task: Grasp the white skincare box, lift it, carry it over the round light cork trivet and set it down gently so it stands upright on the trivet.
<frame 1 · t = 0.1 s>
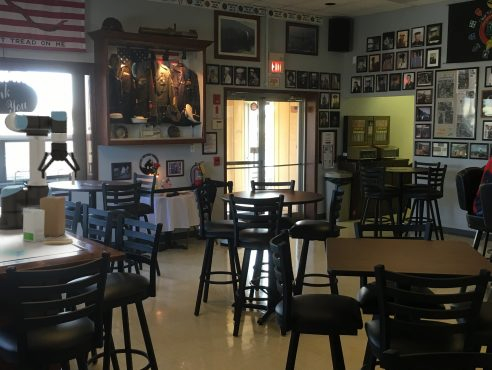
hand: (59, 185, 277), 28 cm above the table, fingers open, 13 cm apart
cork trivet: (57, 242, 275), on the table
skincare box: (34, 240, 278), on the table
wooden block: (53, 235, 294), on the table
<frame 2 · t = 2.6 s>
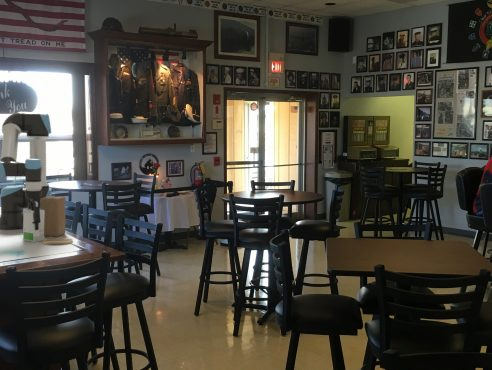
hand: (33, 234, 278), 3 cm above the table, fingers closed on skincare box, 10 cm apart
skincare box: (33, 240, 278), on the table, touching gripper
everything else where it was.
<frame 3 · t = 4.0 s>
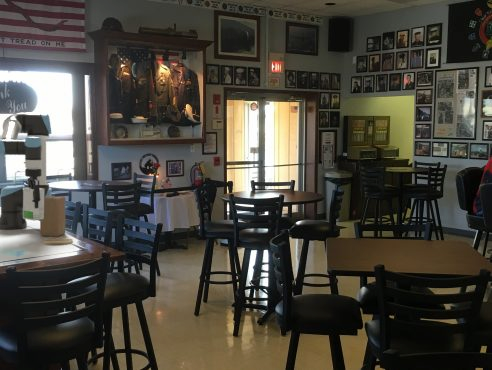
hand: (33, 213, 277), 14 cm above the table, fingers closed on skincare box, 10 cm apart
skincare box: (33, 219, 278), point 10 cm above the table, touching gripper
everything else where it was.
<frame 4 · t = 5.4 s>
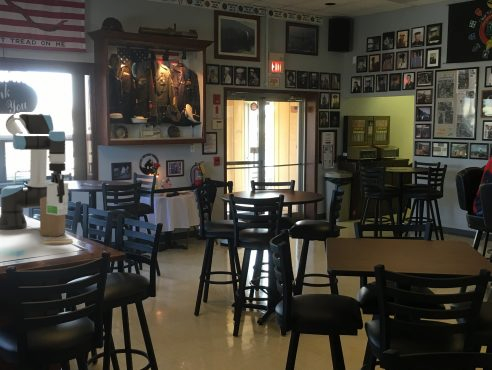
hand: (57, 208, 273), 17 cm above the table, fingers closed on skincare box, 10 cm apart
skincare box: (57, 214, 273), point 14 cm above the table, touching gripper
everything else where it was.
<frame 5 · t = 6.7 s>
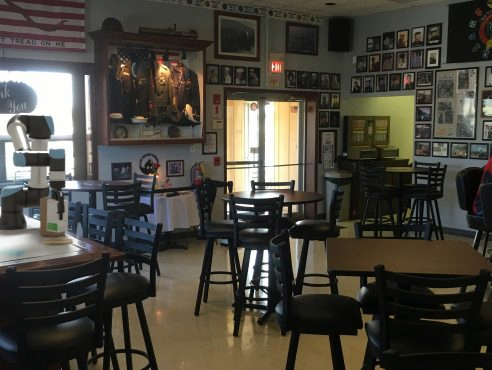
hand: (57, 225, 274), 9 cm above the table, fingers closed on skincare box, 10 cm apart
skincare box: (57, 231, 274), point 5 cm above the table, touching gripper
everything else where it was.
when the fingers open (5 cm above the table, at t = 7.9 s): skincare box drops 1 cm, resting on cork trivet.
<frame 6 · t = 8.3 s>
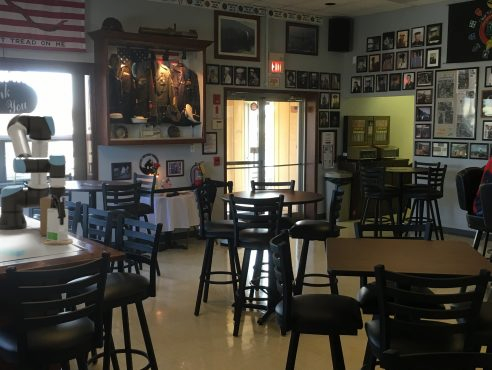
hand: (57, 229, 274), 6 cm above the table, fingers open, 13 cm apart
skincare box: (57, 240, 274), point 1 cm above the table, touching cork trivet
everything else where it was.
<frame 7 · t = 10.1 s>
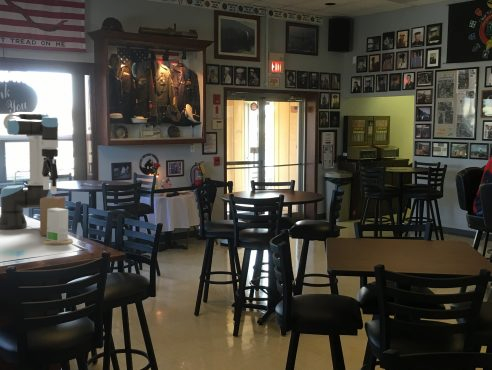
hand: (49, 191, 277), 25 cm above the table, fingers open, 13 cm apart
nothing on the table moved.
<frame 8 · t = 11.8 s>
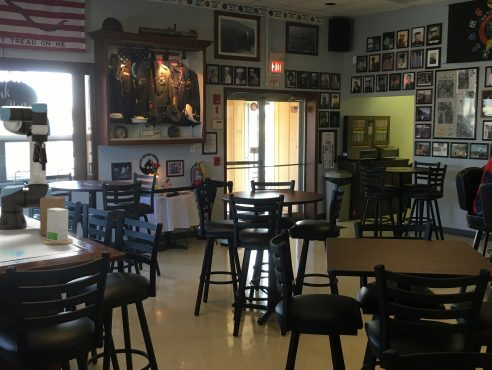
hand: (39, 176, 281), 32 cm above the table, fingers open, 13 cm apart
nothing on the table moved.
at the end: skincare box 0.1 cm from the cork trivet (horizontally); skincare box tilted 0°; the gripper is holding nothing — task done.
